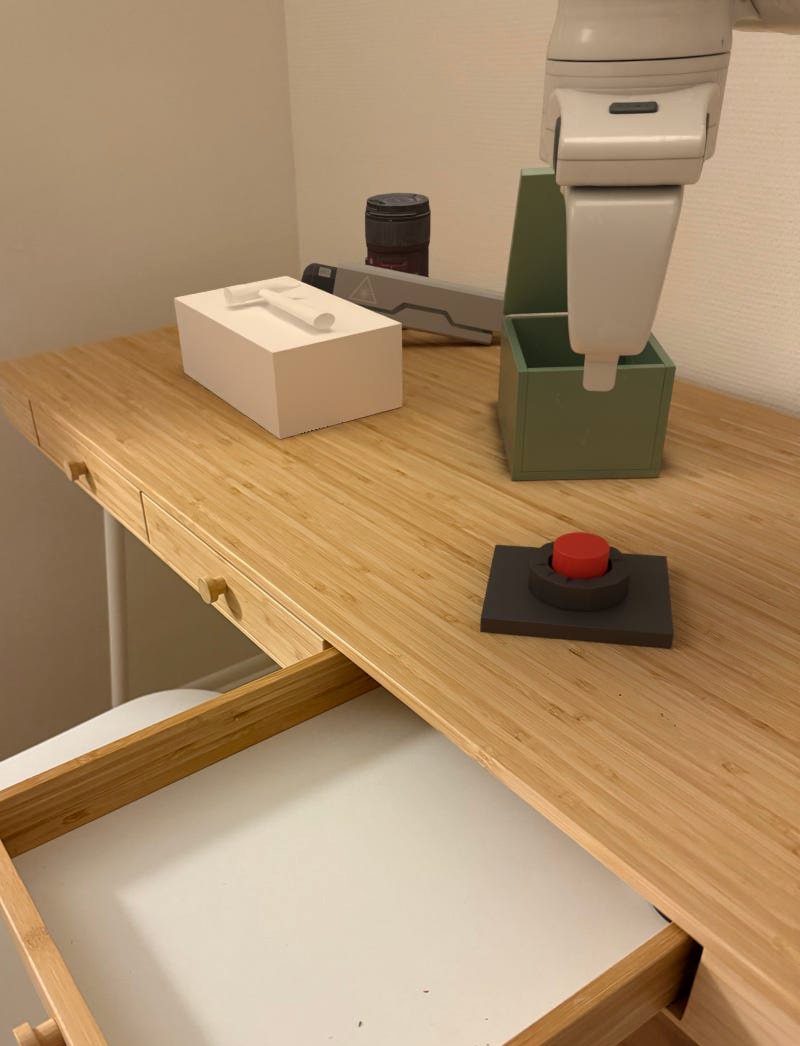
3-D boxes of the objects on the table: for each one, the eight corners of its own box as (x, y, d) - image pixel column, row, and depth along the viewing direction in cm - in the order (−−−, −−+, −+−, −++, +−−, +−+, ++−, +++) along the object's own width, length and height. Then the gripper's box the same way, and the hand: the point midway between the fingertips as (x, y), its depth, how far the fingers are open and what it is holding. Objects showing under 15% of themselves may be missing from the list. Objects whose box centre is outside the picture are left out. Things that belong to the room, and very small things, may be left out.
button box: (662, 582, 69) (670, 533, 66) (668, 662, 61) (678, 610, 59) (493, 569, 72) (496, 522, 69) (479, 645, 64) (481, 594, 61)
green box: (658, 477, 83) (676, 366, 77) (511, 480, 84) (518, 371, 78) (624, 411, 96) (637, 311, 90) (497, 414, 97) (502, 316, 91)
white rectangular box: (291, 348, 118) (285, 255, 112) (402, 406, 100) (401, 299, 94) (184, 372, 113) (170, 276, 107) (280, 439, 95) (270, 328, 88)
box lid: (685, 167, 74) (678, 121, 76) (521, 175, 76) (518, 129, 77) (638, 310, 90) (633, 268, 91) (502, 315, 91) (500, 273, 92)
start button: (607, 556, 65) (610, 533, 64) (606, 583, 62) (610, 560, 61) (553, 552, 66) (555, 530, 65) (550, 579, 63) (552, 556, 62)
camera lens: (385, 335, 120) (383, 207, 112) (357, 320, 126) (352, 197, 118) (441, 324, 123) (443, 198, 114) (410, 310, 129) (410, 189, 121)
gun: (293, 335, 118) (306, 252, 113) (491, 375, 119) (514, 293, 113) (290, 341, 116) (303, 257, 110) (492, 382, 117) (515, 299, 111)
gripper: (572, 101, 58) (552, 329, 66) (556, 150, 42) (532, 446, 50) (681, 97, 57) (648, 332, 64) (709, 148, 40) (660, 453, 48)
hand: (598, 383), depth 57 cm, fingers closed
